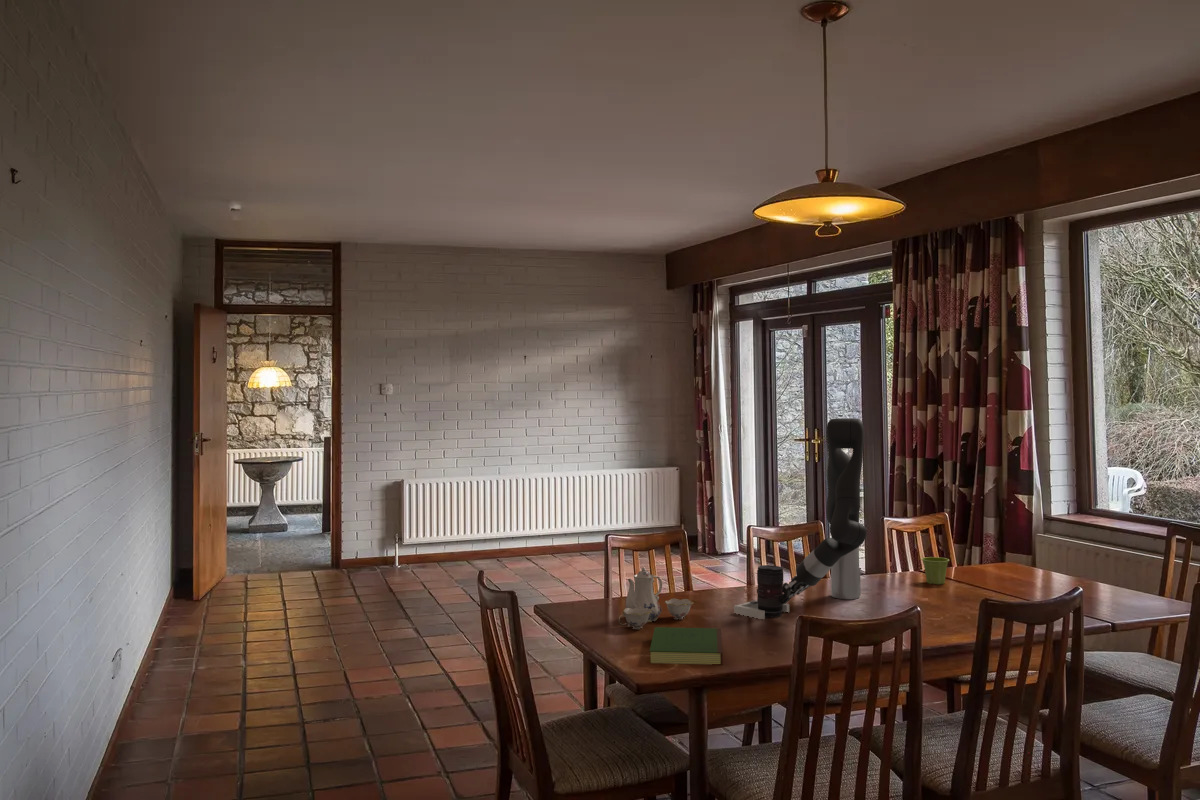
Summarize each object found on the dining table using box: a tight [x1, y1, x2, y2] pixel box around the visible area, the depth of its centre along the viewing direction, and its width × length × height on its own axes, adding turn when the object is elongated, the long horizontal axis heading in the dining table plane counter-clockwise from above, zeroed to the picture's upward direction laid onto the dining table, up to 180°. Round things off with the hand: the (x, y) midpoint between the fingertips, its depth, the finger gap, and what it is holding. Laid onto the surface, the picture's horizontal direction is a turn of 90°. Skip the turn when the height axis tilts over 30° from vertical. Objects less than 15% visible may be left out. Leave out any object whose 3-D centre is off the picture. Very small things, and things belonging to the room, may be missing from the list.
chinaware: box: [618, 566, 694, 630], centre depth 285 cm, size 28×17×17 cm, turn 135°
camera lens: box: [756, 564, 784, 618], centre depth 290 cm, size 8×8×15 cm
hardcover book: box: [649, 626, 724, 666], centre depth 252 cm, size 25×19×4 cm
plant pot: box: [921, 556, 950, 585], centre depth 335 cm, size 9×9×9 cm
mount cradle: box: [733, 599, 790, 620], centre depth 293 cm, size 14×11×3 cm
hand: (781, 601), depth 287 cm, fingers closed
